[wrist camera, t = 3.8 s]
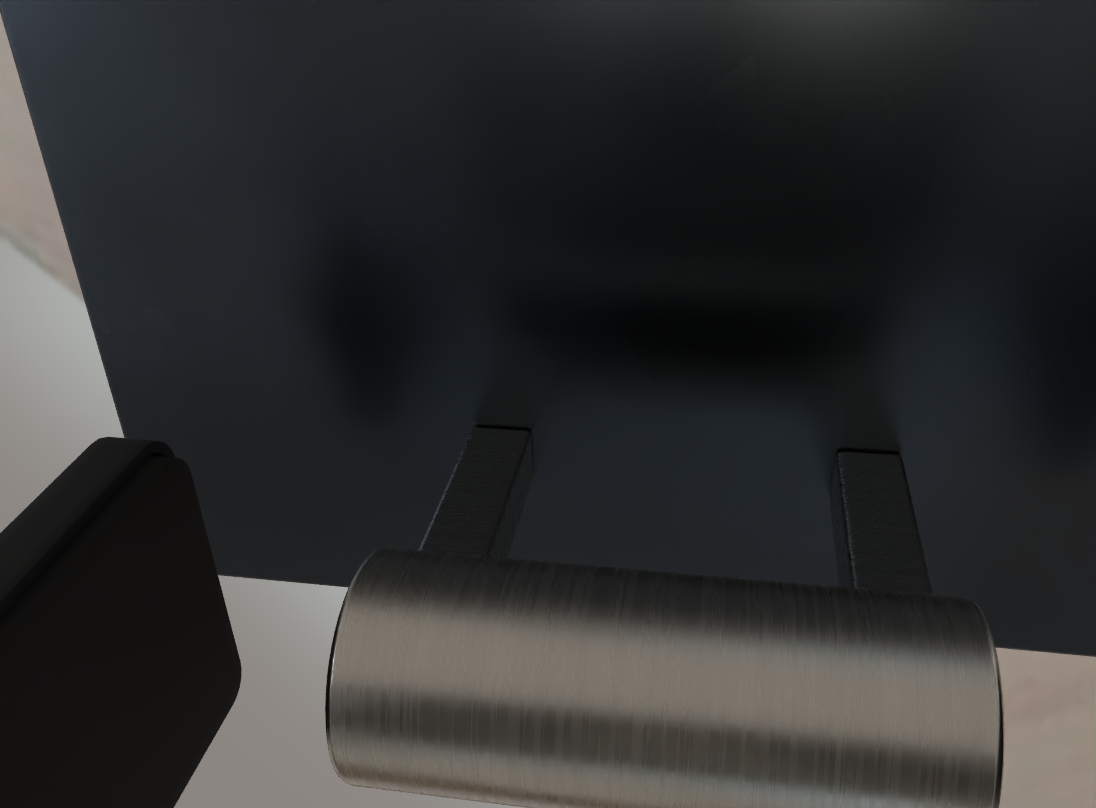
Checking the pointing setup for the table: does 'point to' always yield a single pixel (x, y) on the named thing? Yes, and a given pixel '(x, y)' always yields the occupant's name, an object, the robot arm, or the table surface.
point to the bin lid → (613, 366)
